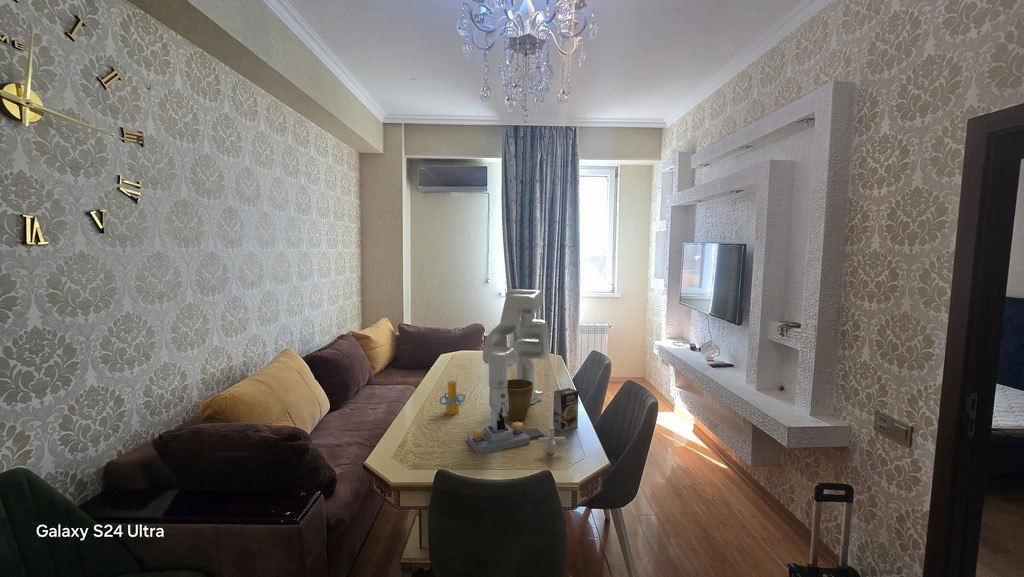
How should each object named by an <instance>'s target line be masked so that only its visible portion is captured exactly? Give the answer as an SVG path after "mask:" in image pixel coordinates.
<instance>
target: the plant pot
mask: <svg viewBox="0 0 1024 577" xmlns="http://www.w3.org/2000/svg"><path fill="white" fill-rule="evenodd" d="M507 391H508V402H509V411H508V412H506V414H507V416H508V418H509V420H512V421H514V422H520V421H523V420H525V419H526V417H527V415H528V412H529V408H530V405H531V404H530V401H531V397H532V391H533V383H532V382H531V381H529V380H524V379H516V378H514V379H513V378H512V379H507Z"/></svg>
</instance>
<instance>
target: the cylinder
mask: <svg viewBox="0 0 1024 577" xmlns="http://www.w3.org/2000/svg"><path fill="white" fill-rule="evenodd" d="M460 396H462V400H461V398H460ZM443 398H444V400H445V402H443V401H442V399H443ZM465 399H466V395H465V394H464V393H458V392H457V380H455V379H452V380H451V379H450V380H447V392H445V393H444V395H442V396H441V397H440V398H439V403H440V405H443V406H444V405H445V413H446V415H451V416H452V415H457V414H459V412H460V408H459V407H460V405H461V403H464V401H465Z"/></svg>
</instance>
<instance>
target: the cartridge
mask: <svg viewBox="0 0 1024 577" xmlns="http://www.w3.org/2000/svg"><path fill="white" fill-rule="evenodd" d="M500 412H502V411H500ZM501 415H502V414H500V416H501ZM497 420H498V416H497V413H496V412H495V410H494V408H493V407H492V414H491V425H492V433H499V432H504V429H503V430H497Z"/></svg>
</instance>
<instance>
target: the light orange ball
mask: <svg viewBox="0 0 1024 577" xmlns="http://www.w3.org/2000/svg"><path fill="white" fill-rule="evenodd" d="M523 424H524V423H523V422H520V421H514V422H512V423H511V426H512V429H514V434H515V435H516V434H521V430H523V429H524V425H523Z"/></svg>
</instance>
